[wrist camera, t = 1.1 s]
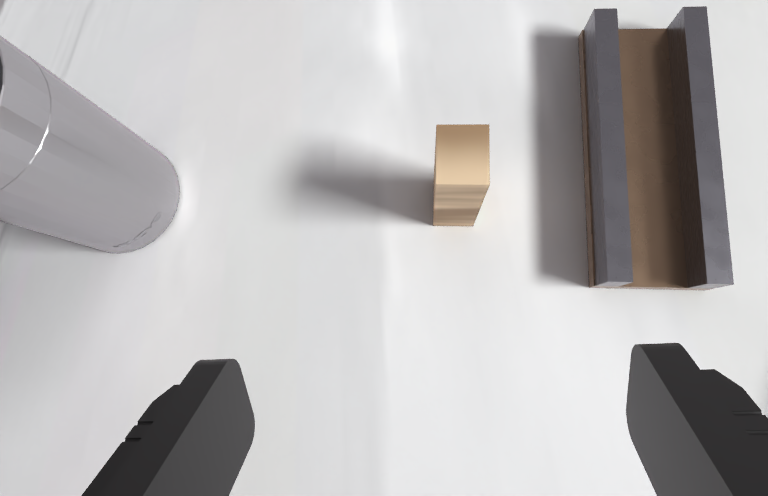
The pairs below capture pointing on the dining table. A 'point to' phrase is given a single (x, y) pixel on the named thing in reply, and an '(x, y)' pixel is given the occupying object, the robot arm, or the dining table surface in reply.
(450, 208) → the light brown wooden block
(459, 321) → the dining table surface
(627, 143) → the door track
